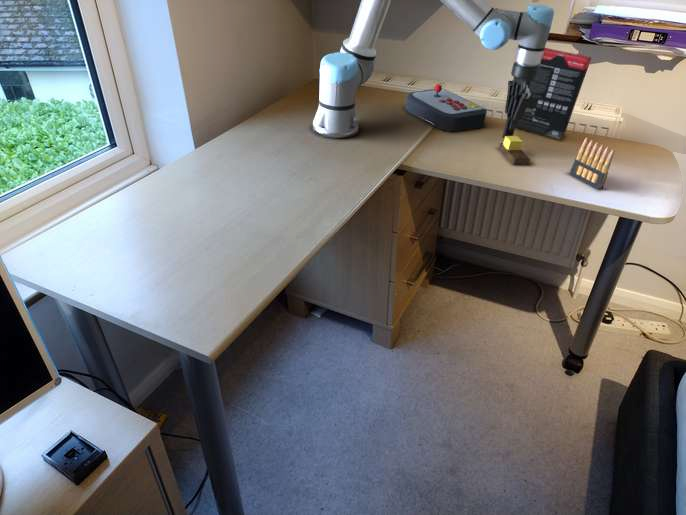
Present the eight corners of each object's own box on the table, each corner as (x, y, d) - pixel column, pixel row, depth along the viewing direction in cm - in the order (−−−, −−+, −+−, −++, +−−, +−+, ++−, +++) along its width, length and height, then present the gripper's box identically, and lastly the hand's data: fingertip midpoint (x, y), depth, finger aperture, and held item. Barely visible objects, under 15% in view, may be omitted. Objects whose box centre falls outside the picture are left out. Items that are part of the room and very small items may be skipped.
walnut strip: (498, 148, 166) (500, 142, 165) (512, 148, 167) (514, 142, 165) (513, 165, 156) (515, 159, 155) (528, 164, 157) (530, 159, 156)
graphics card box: (565, 135, 179) (593, 55, 163) (561, 141, 174) (589, 59, 158) (518, 123, 186) (540, 45, 170) (512, 128, 181) (534, 48, 165)
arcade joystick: (398, 107, 192) (401, 80, 186) (437, 101, 200) (442, 75, 194) (445, 134, 173) (450, 105, 167) (487, 126, 181) (493, 98, 175)
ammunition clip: (602, 188, 147) (618, 150, 140) (598, 189, 146) (614, 151, 139) (572, 173, 154) (586, 135, 147) (568, 174, 153) (582, 136, 146)
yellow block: (502, 144, 164) (505, 135, 162) (515, 144, 164) (517, 136, 162) (508, 150, 160) (510, 141, 158) (520, 150, 161) (523, 141, 159)
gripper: (548, 70, 147) (526, 146, 161) (529, 57, 157) (509, 130, 171) (524, 69, 146) (504, 146, 159) (506, 57, 156) (488, 130, 170)
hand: (506, 137), depth 165 cm, fingers closed
